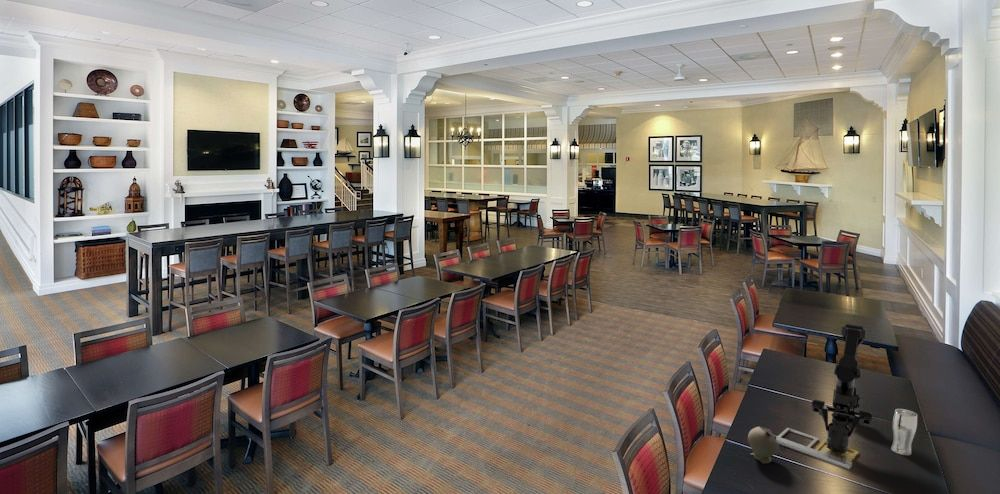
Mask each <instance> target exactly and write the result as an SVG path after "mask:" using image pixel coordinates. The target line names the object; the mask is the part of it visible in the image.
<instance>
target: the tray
mask: <svg viewBox="0 0 1000 494" xmlns="http://www.w3.org/2000/svg"><path fill="white" fill-rule="evenodd" d="M788 432H791V433H795V434H797V435H799V436H803V437H806V438H808V439H812V441H811V442H810V443H809V444H807V446H806V445H804V444H801V443H797V442H795V441H792V440H790V439H787V438H783V436H785V435H786V434H787V433H788ZM775 436H776V437H777V439H776V441H777V443H778V444H779V446H783V447H786V448H788V449H791V450H793V451H796V452H800V453H802V454H805V455H807V456H811V457H813V458H817V459H819V460H822V461H825V462H828V463H830V464H833V465H836V466H838V467H842V468H844V469H847V470H850V469H852V466H853V460H854V459H855V458H856V457H857V456H858V455H859V451H858V450H855V449H853V448H849V447H848V451H847V452H846V453H844V454H839V453H835V452H832V451H830V450H829V449H828V448H827V447H826V439H824V440H822V442H821V443H820V444H819V445H818V446H817V447H816V448H815V449H814V448H812V447H813V446H814V445H815V444H816V443H817V442H818V441H819V437H817V436H814V435H810V434H808V433H804V432H802V431H798V430H796V429H794V428H793V429H792V428H789V427H786V428H785V429H784V430H782V432H781V433H779V434H778V435H775Z"/></svg>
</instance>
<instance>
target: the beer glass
mask: <svg viewBox="0 0 1000 494" xmlns="http://www.w3.org/2000/svg"><path fill="white" fill-rule="evenodd" d="M917 427H918V414H917V413H916V412H914V411H913V410H909V409H906V408H905V409H904V408H895V410H894V415H893V418H892V433H893V441H892V444H891V447H890V449H891V451H892V452H894V453H896V454H898V455H901V456H911V455H912V454H913V453H912V443H913V440H914V438H915V435H916V433H917V432H916V431H917Z"/></svg>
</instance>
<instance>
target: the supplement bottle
mask: <svg viewBox="0 0 1000 494" xmlns="http://www.w3.org/2000/svg"><path fill="white" fill-rule="evenodd" d="M848 425H849V422H848V420H847V419H846V418H844V417H842V416H832V418H831V422H829V423H828V431H826V432H827V433H826V439H825V440H826V447H827V448H828V449H829V450H830V451H832V452H835V453H839V454H844V453H846V452H847V451H848V448H849V442H850V437H849V434H850V429H851V428H850V427H849V426H848Z"/></svg>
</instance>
